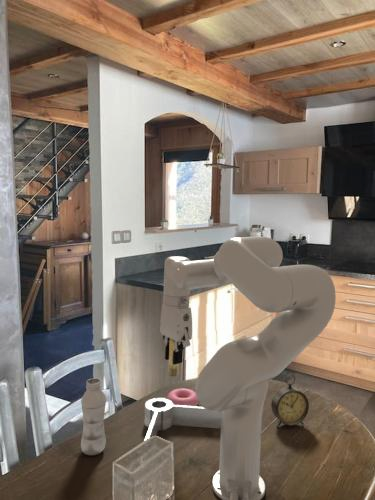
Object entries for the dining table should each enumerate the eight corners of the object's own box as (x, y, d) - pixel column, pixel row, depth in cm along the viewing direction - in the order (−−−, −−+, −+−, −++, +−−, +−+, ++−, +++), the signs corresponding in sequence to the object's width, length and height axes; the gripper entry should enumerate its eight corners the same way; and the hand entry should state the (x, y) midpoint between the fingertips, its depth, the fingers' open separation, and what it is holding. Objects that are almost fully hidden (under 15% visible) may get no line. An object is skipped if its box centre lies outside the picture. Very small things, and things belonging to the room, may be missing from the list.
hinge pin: (177, 376, 119) (179, 340, 117) (167, 375, 119) (168, 339, 118) (178, 372, 122) (180, 336, 120) (168, 371, 122) (170, 335, 121)
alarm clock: (275, 431, 124) (278, 379, 122) (268, 421, 129) (270, 372, 127) (308, 427, 127) (311, 376, 125) (299, 418, 132) (302, 369, 130)
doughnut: (173, 394, 146) (173, 383, 146) (203, 400, 143) (203, 389, 142) (161, 409, 136) (161, 397, 136) (192, 415, 132) (193, 403, 132)
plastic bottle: (76, 450, 112) (76, 380, 110) (99, 441, 116) (99, 373, 114) (87, 462, 107) (87, 388, 105) (110, 452, 111) (110, 382, 109)
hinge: (221, 469, 106) (222, 447, 105) (129, 461, 108) (130, 439, 107) (223, 420, 129) (223, 402, 129) (148, 414, 132) (148, 397, 131)
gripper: (205, 305, 113) (201, 368, 116) (169, 292, 126) (167, 349, 129) (183, 308, 109) (180, 374, 111) (149, 295, 121) (147, 354, 124)
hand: (173, 360), depth 120 cm, fingers closed on hinge pin, 3 cm apart
